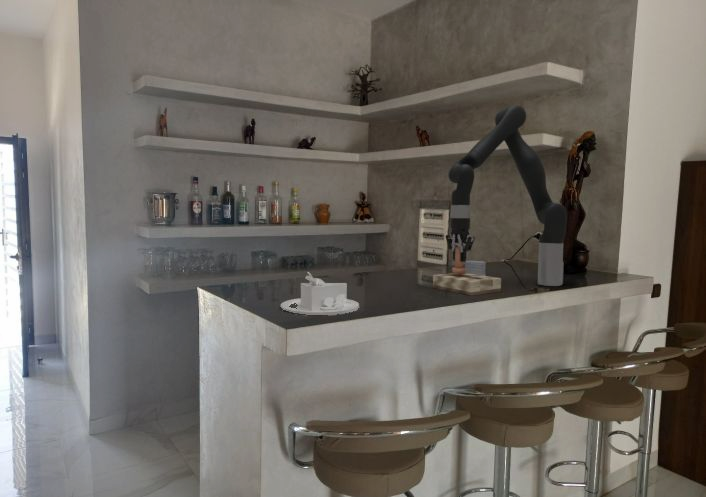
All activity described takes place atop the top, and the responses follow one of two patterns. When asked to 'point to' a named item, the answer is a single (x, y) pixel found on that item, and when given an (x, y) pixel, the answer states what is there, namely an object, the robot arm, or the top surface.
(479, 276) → the beige flat block
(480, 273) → the medicine box
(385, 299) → the top surface
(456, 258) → the peg
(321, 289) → the dish
